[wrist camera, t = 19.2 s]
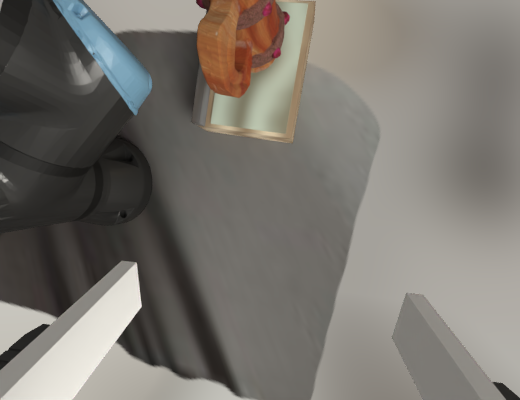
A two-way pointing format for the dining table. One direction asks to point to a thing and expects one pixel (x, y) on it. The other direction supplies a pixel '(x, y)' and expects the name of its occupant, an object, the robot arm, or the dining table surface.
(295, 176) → the dining table surface
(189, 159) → the dining table surface
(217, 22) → the mug
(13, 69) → the robot arm
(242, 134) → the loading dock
